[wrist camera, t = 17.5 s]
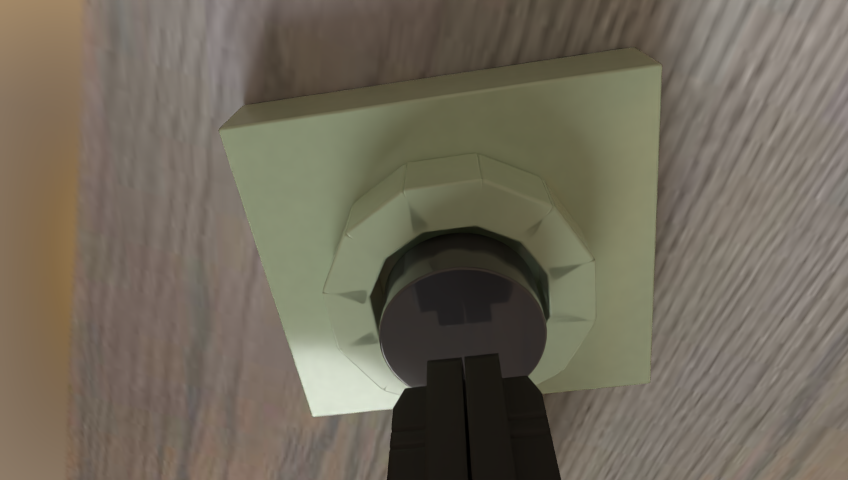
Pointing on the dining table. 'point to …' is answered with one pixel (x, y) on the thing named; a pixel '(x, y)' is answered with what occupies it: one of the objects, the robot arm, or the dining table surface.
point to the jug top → (459, 210)
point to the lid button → (461, 307)
